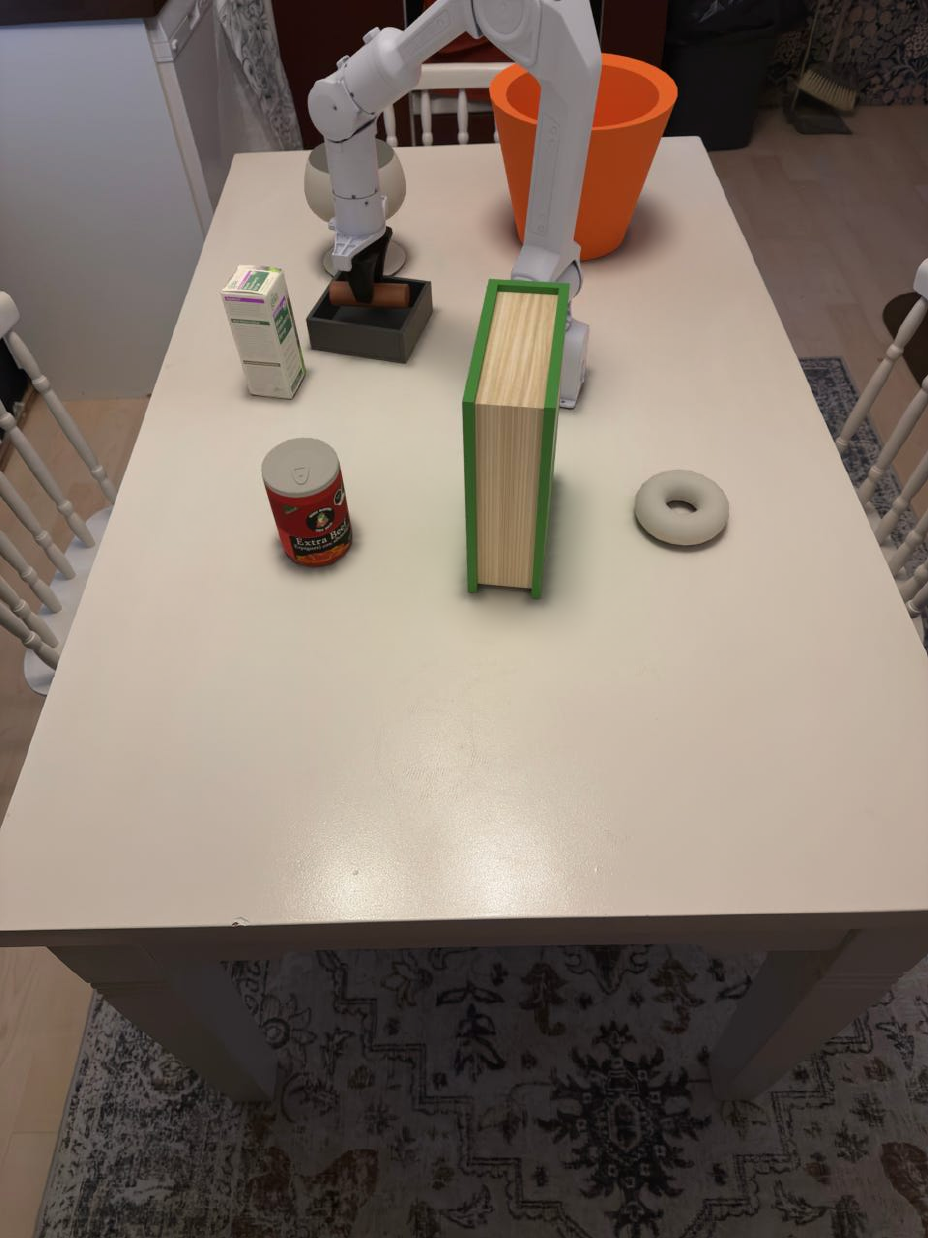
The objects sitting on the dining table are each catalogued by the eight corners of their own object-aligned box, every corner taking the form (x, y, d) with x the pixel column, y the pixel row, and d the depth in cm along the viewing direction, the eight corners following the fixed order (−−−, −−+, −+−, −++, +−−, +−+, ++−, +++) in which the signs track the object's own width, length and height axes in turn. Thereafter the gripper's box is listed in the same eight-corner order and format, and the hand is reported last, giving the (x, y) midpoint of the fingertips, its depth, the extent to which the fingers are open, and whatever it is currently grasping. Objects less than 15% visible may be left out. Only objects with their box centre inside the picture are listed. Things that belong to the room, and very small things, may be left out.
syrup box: (292, 400, 104) (268, 294, 93) (248, 395, 105) (218, 289, 93) (307, 372, 108) (285, 266, 96) (263, 367, 108) (237, 262, 97)
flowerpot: (587, 177, 137) (600, 38, 121) (688, 244, 124) (717, 98, 108) (458, 221, 130) (454, 78, 114) (551, 296, 117) (561, 148, 101)
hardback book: (540, 598, 84) (555, 408, 65) (467, 591, 85) (461, 401, 66) (553, 477, 95) (569, 283, 76) (488, 472, 96) (488, 278, 76)
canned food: (297, 578, 87) (276, 502, 78) (271, 529, 91) (248, 452, 82) (365, 552, 89) (352, 475, 80) (336, 504, 93) (321, 427, 84)
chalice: (430, 252, 125) (424, 146, 113) (375, 297, 118) (362, 189, 106) (355, 227, 129) (341, 123, 117) (298, 270, 122) (277, 164, 110)
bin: (433, 311, 115) (431, 280, 112) (405, 363, 108) (403, 333, 105) (343, 298, 118) (339, 268, 114) (311, 349, 111) (305, 318, 107)
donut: (717, 562, 87) (732, 495, 92) (725, 540, 84) (739, 473, 90) (623, 540, 89) (642, 476, 95) (627, 518, 86) (647, 454, 92)
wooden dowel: (408, 312, 109) (410, 290, 110) (403, 302, 106) (406, 279, 107) (334, 309, 111) (337, 287, 111) (328, 299, 108) (330, 276, 108)
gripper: (345, 155, 103) (359, 260, 114) (300, 213, 94) (319, 320, 105) (399, 161, 101) (408, 266, 112) (359, 221, 93) (372, 328, 104)
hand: (368, 293), depth 109 cm, fingers closed on wooden dowel, 3 cm apart
